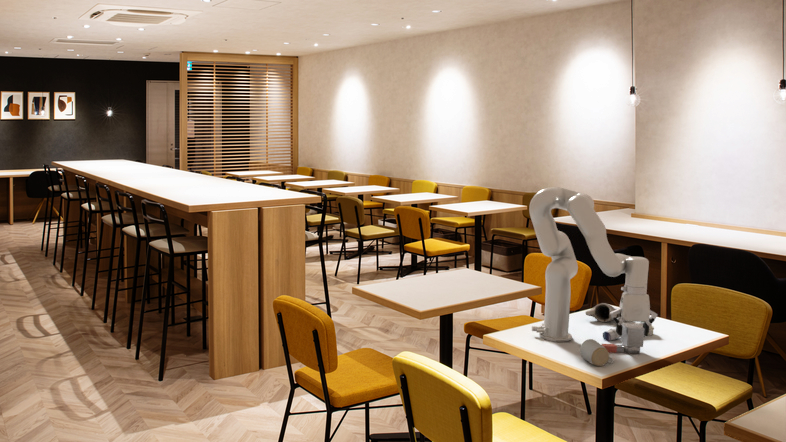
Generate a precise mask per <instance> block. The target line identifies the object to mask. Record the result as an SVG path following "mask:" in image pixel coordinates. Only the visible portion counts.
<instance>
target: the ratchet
mask: <svg viewBox="0 0 786 442" xmlns="http://www.w3.org/2000/svg"><path fill="white" fill-rule="evenodd" d="M601 345H602V346H603V347H605V348H606V349H607V351H608V352H609V354H610V353H614V354H615V353H618V352H619V353H624V354H627V355H635V356H636V355H640V354H641V347H627V346H626V345H624V344H623V343H622V342H621V344H615V343H601Z"/></svg>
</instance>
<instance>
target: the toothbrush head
mask: <svg viewBox="0 0 786 442" xmlns="http://www.w3.org/2000/svg"><path fill="white" fill-rule="evenodd" d="M635 324H639V325H640V326H642V327H643V324H644V322H637V323H636V322H635ZM654 330H655V327H654V326H653V323H651V325H650V326H649V333H648V336H653V334H654ZM602 338H603V340H604V341H607V342H610V341H616V340H617V339H621V336H619V335H618V334H617V332H616V327H615V328H609V330H605V331H604V332H602Z"/></svg>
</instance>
